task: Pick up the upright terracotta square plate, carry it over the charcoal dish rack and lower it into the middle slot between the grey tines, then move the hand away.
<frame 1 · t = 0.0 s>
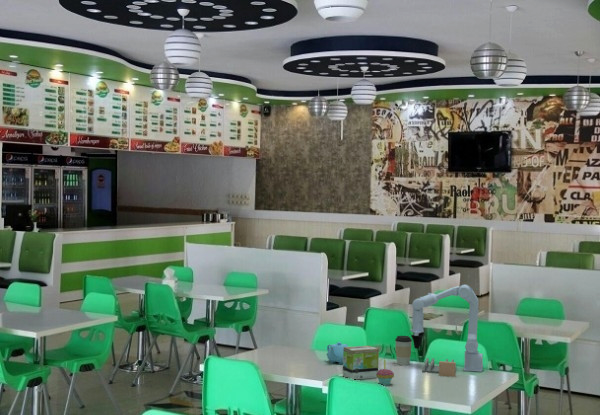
hand: (417, 347, 412), 10 cm above the table, tool pointing down, fingers open, 7 cm apart
cupcake: (385, 384, 370), on the table
coffee cup: (403, 364, 418), on the table
tea box: (360, 377, 384), on the table
plate: (447, 376, 389), on the table
teapot: (338, 363, 419), on the table
dish rack: (439, 370, 402), on the table
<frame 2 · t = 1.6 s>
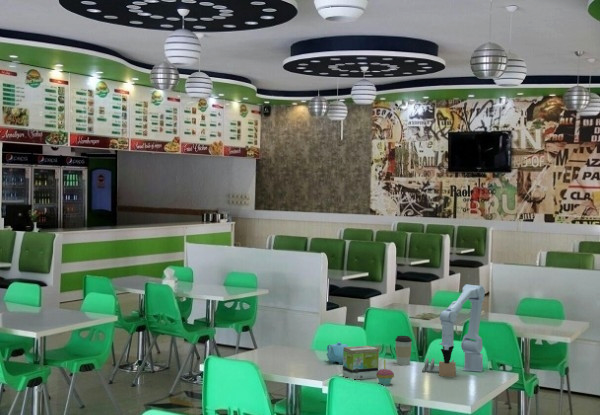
hand: (447, 361, 389), 7 cm above the table, tool pointing down, fingers open, 7 cm apart
nothing on the table moved.
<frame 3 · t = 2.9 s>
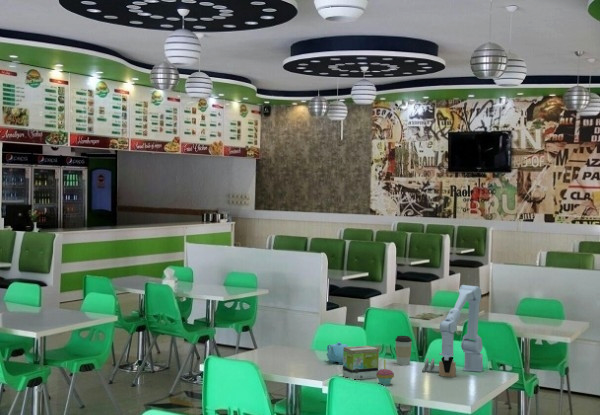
hand: (447, 372, 389), 2 cm above the table, tool pointing down, fingers closed on plate, 2 cm apart
plate: (447, 375, 389), on the table, touching gripper
everything else where it was.
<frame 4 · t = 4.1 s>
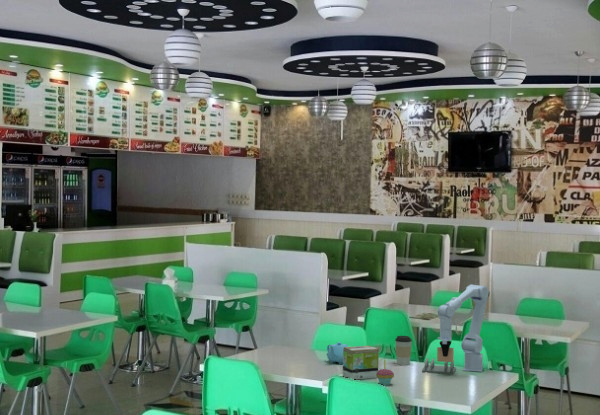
hand: (445, 356, 393), 9 cm above the table, tool pointing down, fingers closed on plate
plate: (445, 361, 393), point 7 cm above the table, touching gripper
everything else where it was.
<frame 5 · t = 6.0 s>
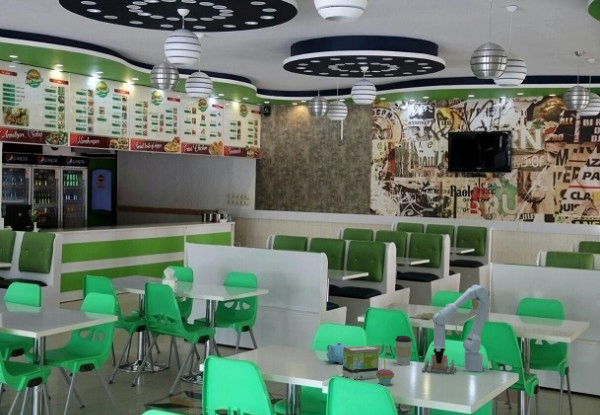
hand: (439, 362, 402), 4 cm above the table, tool pointing down, fingers closed on plate, 2 cm apart
plate: (439, 368, 402), point 1 cm above the table, touching dish rack, gripper
everything else where it was.
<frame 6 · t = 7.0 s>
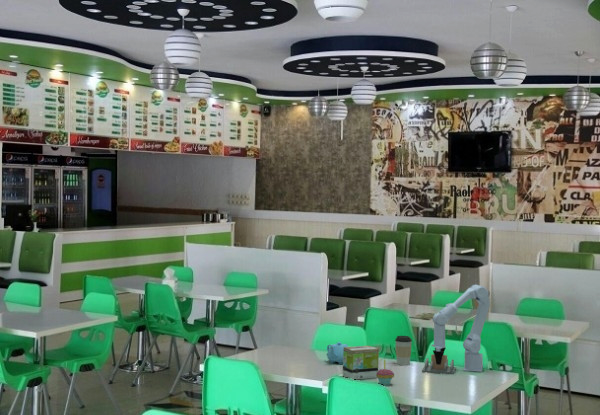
hand: (439, 363, 402), 4 cm above the table, tool pointing down, fingers open, 7 cm apart
plate: (439, 368, 402), point 1 cm above the table, touching dish rack
everything else where it was.
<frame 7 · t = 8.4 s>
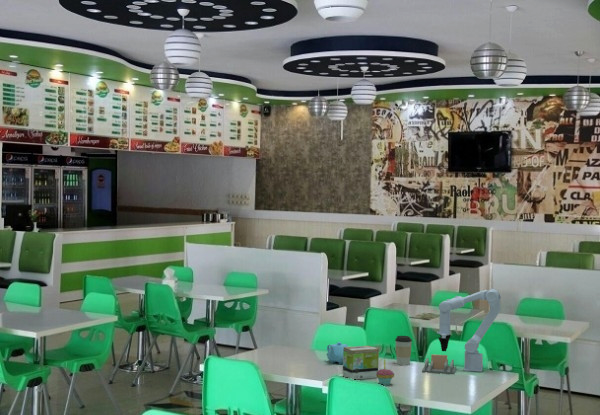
hand: (444, 349, 409), 9 cm above the table, tool pointing down, fingers open, 7 cm apart
nothing on the table moved.
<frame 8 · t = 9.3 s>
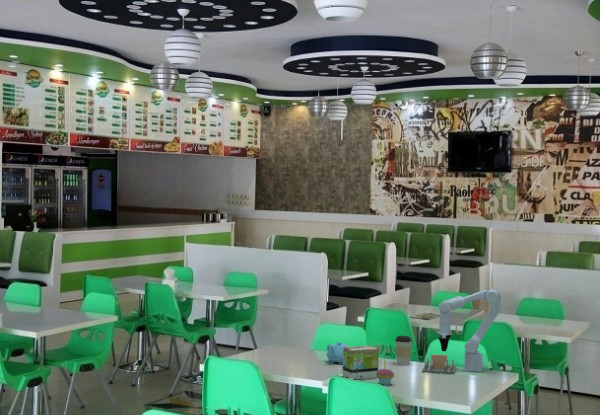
hand: (444, 349, 409), 9 cm above the table, tool pointing down, fingers open, 7 cm apart
nothing on the table moved.
at the end: plate 0.0 cm off-centre on the dish rack, point 1.0 cm above the dish rack's base; plate tilted 0°; the gripper is holding nothing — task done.
